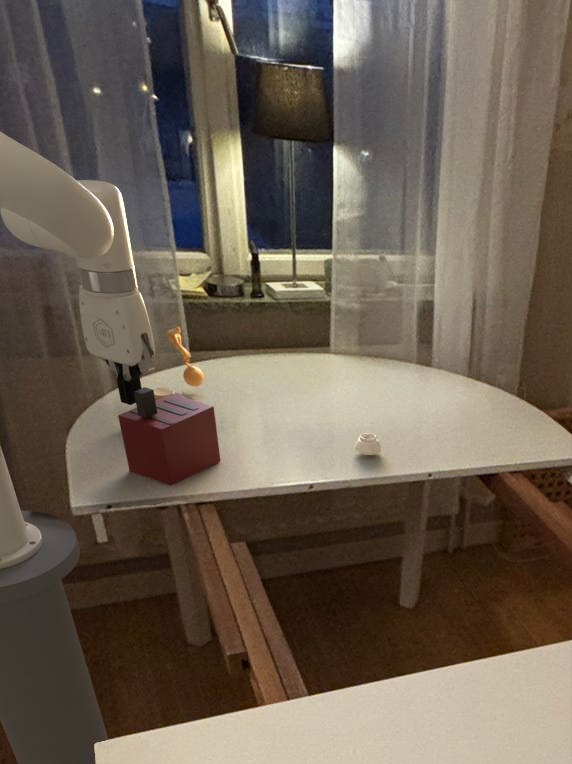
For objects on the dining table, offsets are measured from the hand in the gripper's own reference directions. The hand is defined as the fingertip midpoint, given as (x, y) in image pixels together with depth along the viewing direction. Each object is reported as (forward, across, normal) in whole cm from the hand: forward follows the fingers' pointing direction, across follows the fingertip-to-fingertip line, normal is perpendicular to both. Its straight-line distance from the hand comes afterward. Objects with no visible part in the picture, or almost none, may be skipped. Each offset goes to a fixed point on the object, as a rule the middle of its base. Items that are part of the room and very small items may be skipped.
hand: (132, 401), depth 123 cm
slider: (+1, +3, 0) cm, 3 cm away
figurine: (+12, -19, +32) cm, 40 cm away
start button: (+8, -11, +18) cm, 22 cm away
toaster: (+12, +4, +3) cm, 13 cm away
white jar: (+12, +27, +28) cm, 41 cm away
